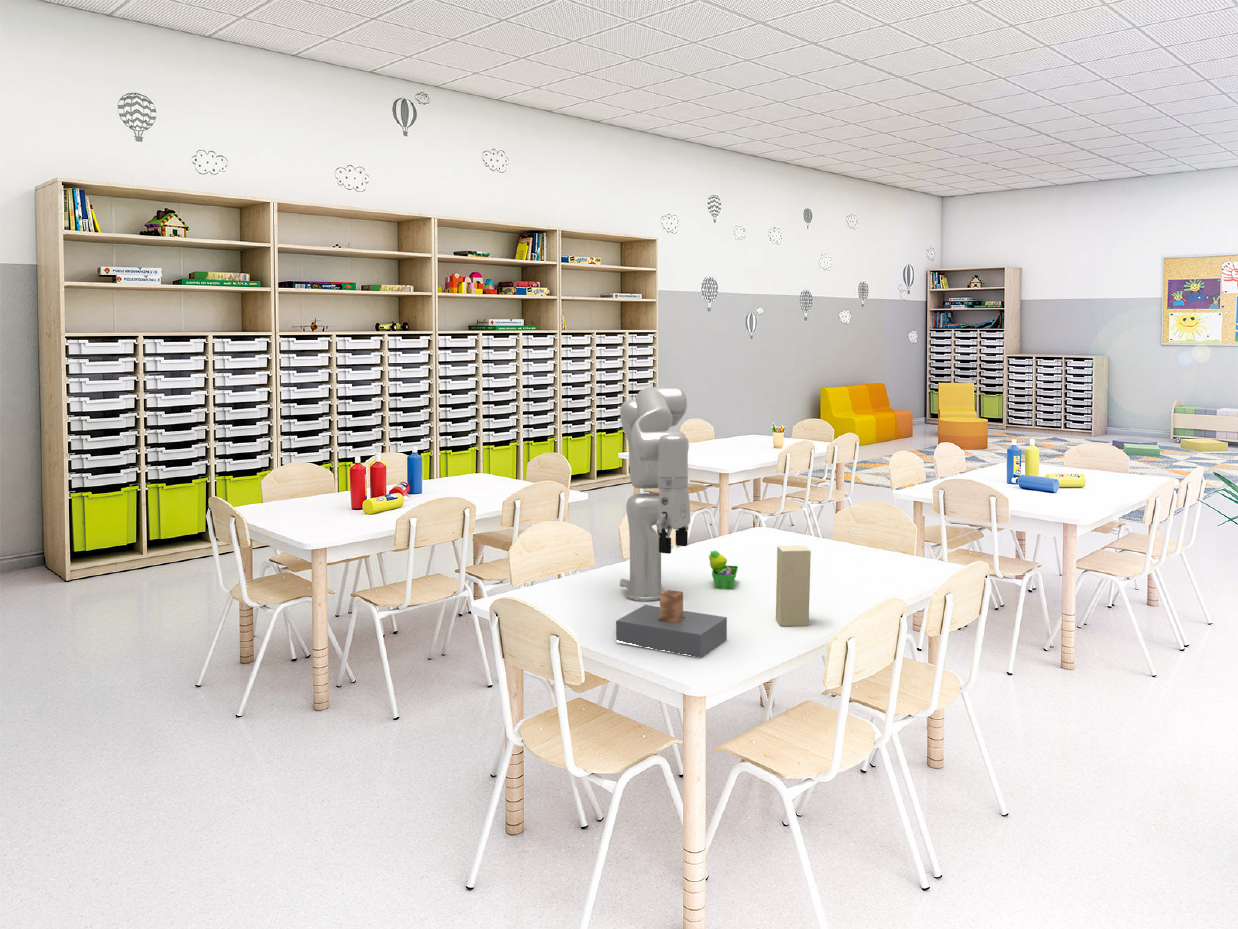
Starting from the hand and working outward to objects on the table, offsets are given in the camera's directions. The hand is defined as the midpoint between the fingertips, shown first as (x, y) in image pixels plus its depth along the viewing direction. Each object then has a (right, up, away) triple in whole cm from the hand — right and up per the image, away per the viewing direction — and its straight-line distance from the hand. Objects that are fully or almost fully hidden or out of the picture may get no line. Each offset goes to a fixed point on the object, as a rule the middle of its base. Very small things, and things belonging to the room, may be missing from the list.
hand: (673, 549), depth 236 cm
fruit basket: (+19, -17, +56) cm, 62 cm away
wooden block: (0, -24, +3) cm, 24 cm away
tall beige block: (+34, -22, +18) cm, 44 cm away
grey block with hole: (0, -24, +3) cm, 24 cm away
